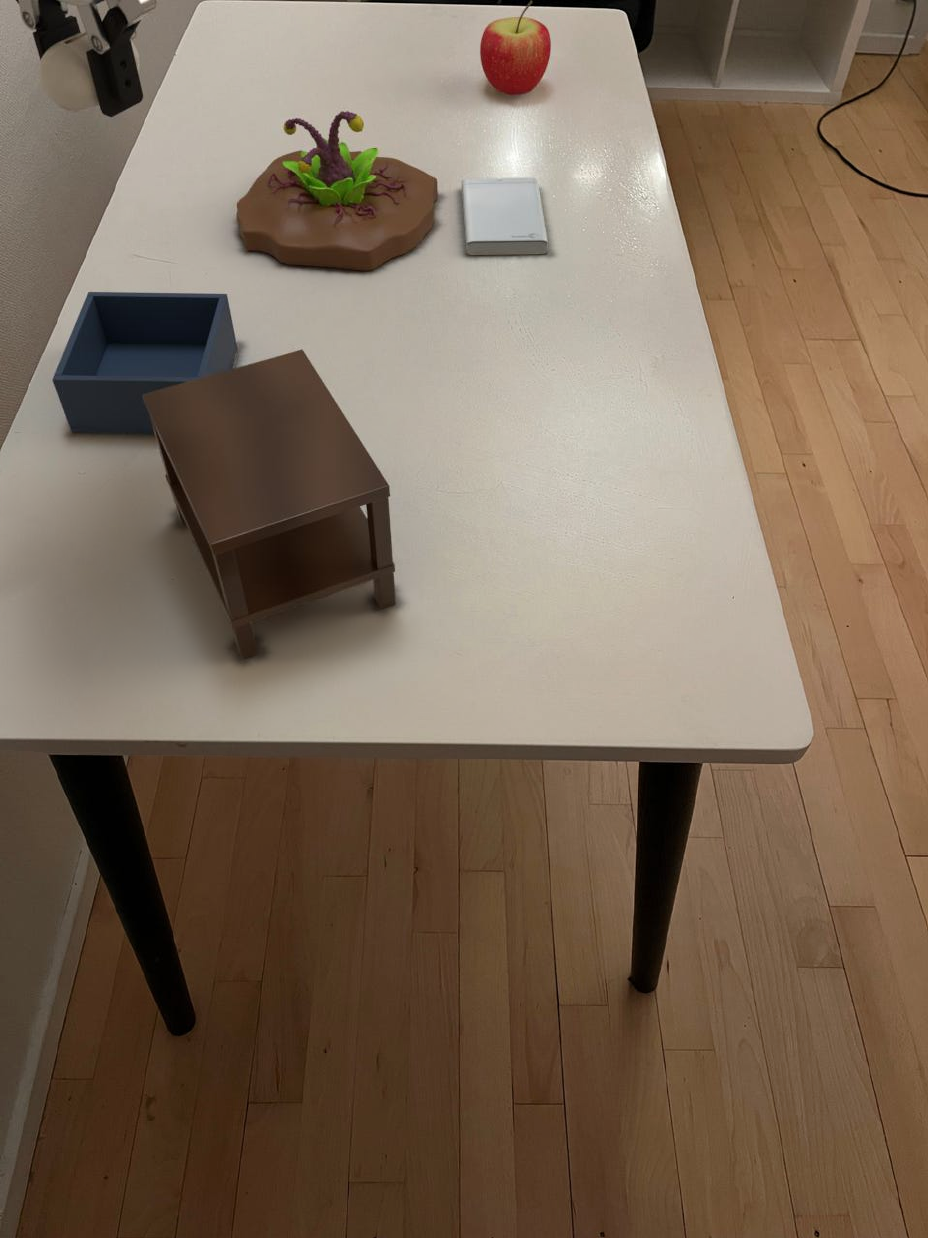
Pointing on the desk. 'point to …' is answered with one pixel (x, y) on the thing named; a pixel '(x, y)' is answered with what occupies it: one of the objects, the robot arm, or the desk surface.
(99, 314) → the bin
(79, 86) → the white capsule
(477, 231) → the hard drive
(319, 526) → the side table
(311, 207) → the plant
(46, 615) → the desk surface
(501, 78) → the apple
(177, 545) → the desk surface
